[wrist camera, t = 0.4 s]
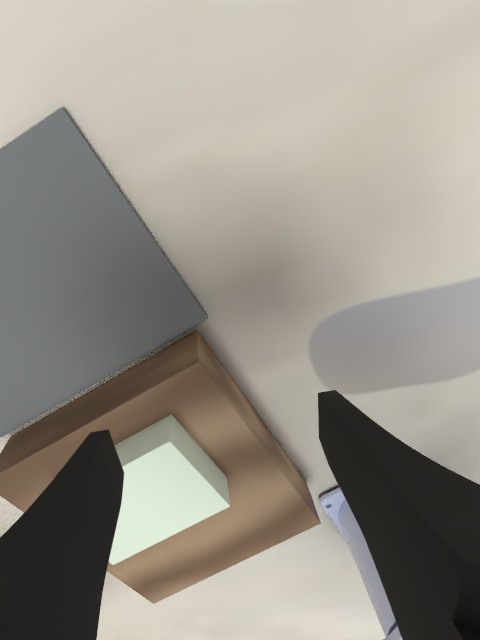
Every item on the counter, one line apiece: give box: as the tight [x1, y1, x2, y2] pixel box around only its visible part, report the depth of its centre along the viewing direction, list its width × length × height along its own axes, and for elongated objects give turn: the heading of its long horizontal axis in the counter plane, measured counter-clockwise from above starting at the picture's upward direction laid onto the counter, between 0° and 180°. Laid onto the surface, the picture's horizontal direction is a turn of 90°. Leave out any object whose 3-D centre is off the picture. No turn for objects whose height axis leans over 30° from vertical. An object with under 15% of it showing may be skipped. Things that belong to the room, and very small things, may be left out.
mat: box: [0, 107, 207, 437], centre depth 19 cm, size 12×16×1 cm
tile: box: [52, 414, 230, 565], centre depth 20 cm, size 6×8×2 cm
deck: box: [0, 331, 320, 604], centre depth 24 cm, size 16×14×4 cm
